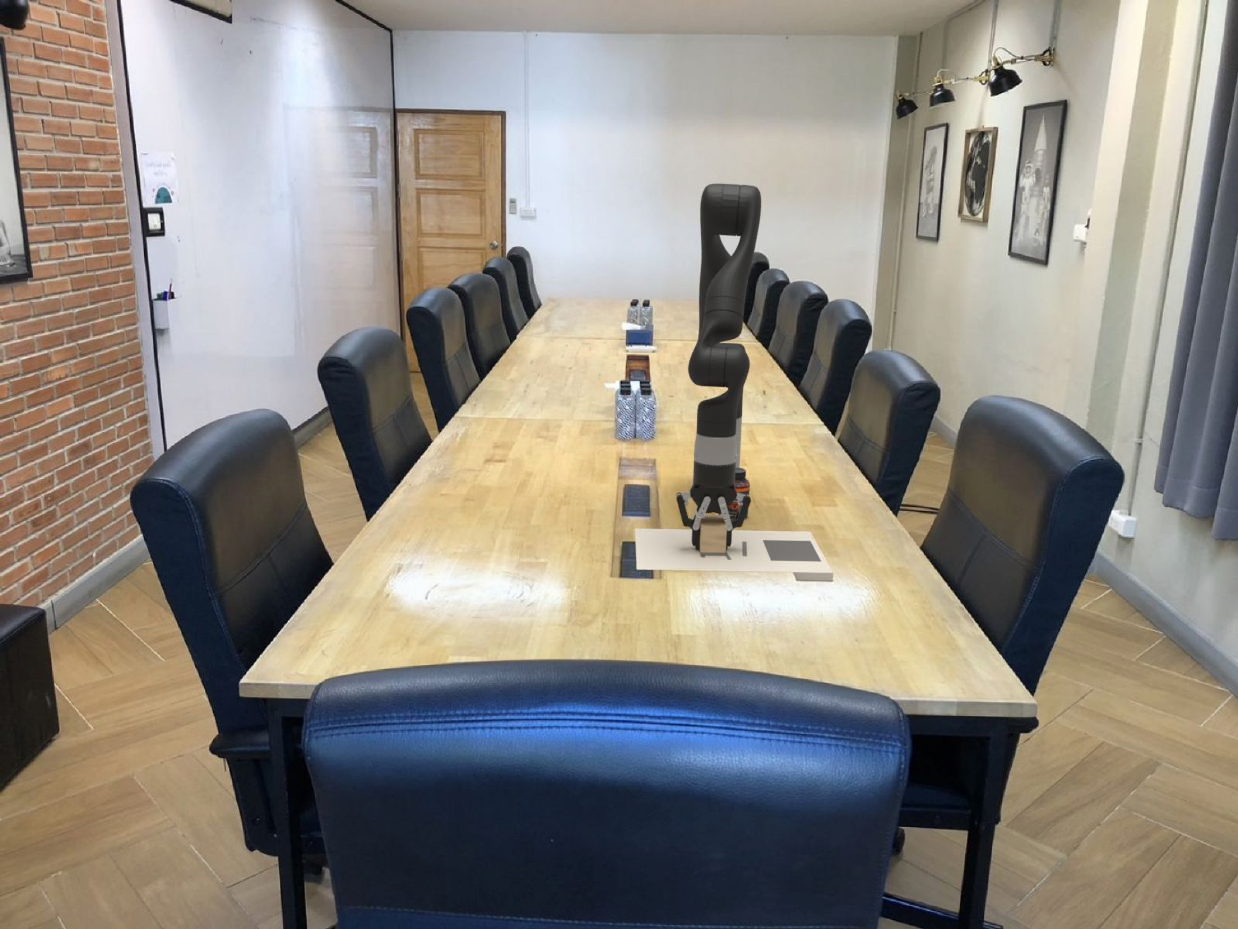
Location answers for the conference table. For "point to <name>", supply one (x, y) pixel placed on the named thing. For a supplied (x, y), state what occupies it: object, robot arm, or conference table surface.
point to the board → (734, 553)
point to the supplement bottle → (739, 491)
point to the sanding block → (713, 536)
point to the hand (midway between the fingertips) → (710, 547)
